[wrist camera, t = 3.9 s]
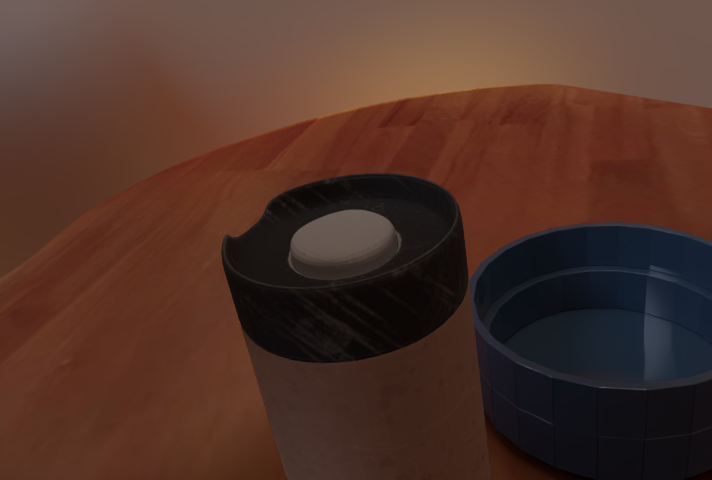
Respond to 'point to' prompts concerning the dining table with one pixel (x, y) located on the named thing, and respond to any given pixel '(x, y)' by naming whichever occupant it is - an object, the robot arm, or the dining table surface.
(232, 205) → the dining table surface
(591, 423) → the blue pet bowl
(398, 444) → the travel mug
